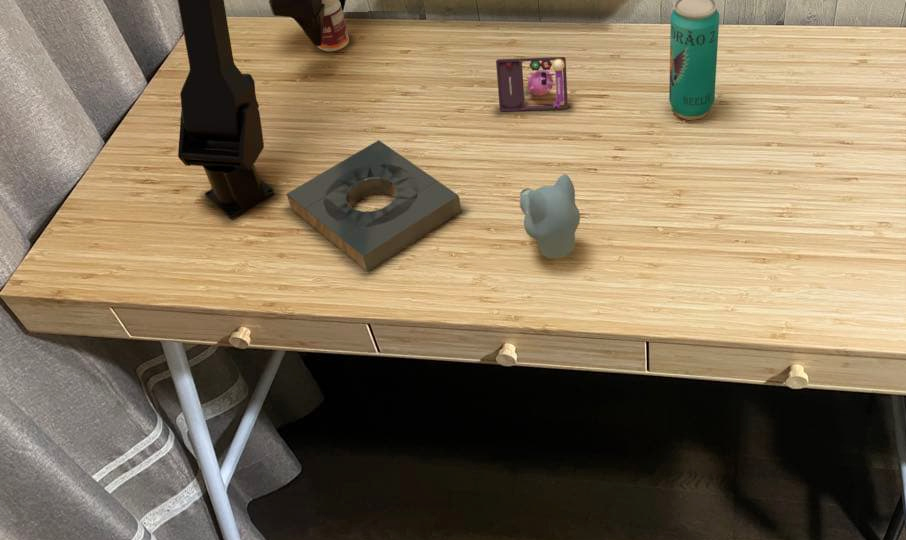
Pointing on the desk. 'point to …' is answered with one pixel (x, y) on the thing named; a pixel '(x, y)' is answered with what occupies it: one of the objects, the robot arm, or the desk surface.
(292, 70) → the desk surface
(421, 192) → the grey square slab
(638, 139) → the desk surface
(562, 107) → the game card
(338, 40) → the pill bottle
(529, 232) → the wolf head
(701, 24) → the beverage can
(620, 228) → the desk surface
